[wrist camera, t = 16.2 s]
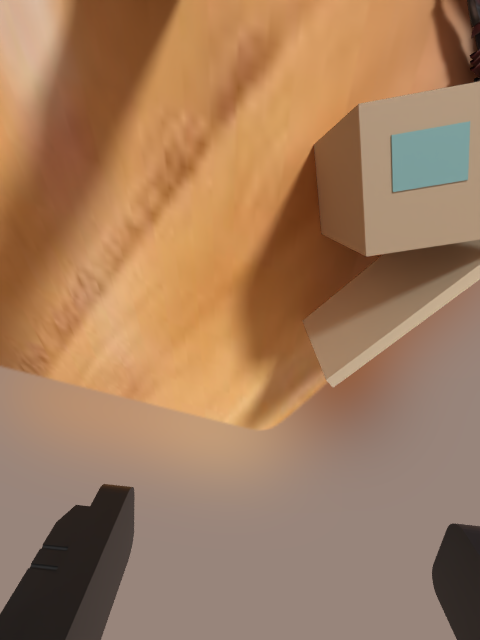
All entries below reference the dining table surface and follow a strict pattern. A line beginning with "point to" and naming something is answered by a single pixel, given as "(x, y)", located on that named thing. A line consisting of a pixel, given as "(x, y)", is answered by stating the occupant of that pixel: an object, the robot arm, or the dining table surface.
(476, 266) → the flap
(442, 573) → the robot arm
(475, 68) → the figurine
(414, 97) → the carton
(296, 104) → the dining table surface
